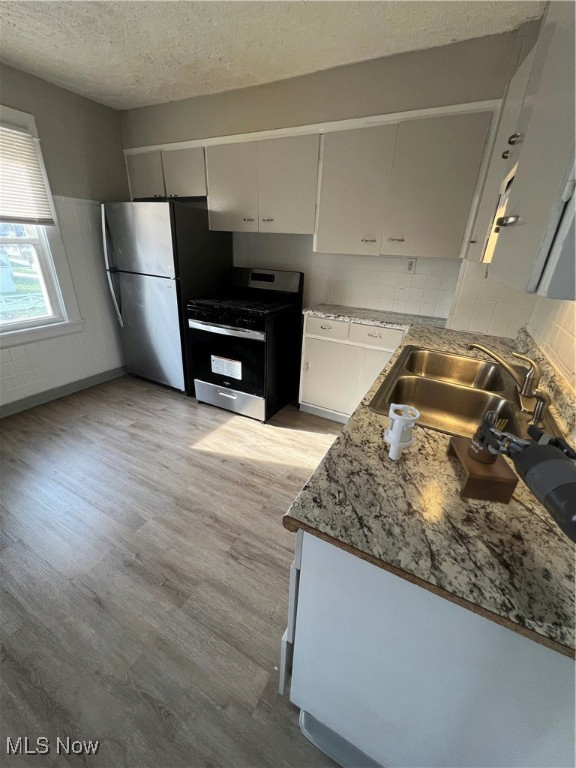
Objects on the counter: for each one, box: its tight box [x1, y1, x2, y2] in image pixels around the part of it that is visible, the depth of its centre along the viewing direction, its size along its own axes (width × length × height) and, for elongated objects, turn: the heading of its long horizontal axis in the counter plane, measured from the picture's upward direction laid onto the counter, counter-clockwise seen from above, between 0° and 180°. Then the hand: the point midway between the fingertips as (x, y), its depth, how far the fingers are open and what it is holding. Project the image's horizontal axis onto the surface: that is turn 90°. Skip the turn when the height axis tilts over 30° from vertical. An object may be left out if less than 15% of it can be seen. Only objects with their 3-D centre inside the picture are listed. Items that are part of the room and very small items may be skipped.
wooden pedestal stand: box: [445, 436, 520, 505], centre depth 75 cm, size 10×14×7 cm
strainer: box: [384, 402, 421, 461], centre depth 80 cm, size 7×7×15 cm
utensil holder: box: [468, 410, 509, 463], centre depth 71 cm, size 6×6×12 cm
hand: (507, 425), depth 64 cm, fingers open, 8 cm apart
